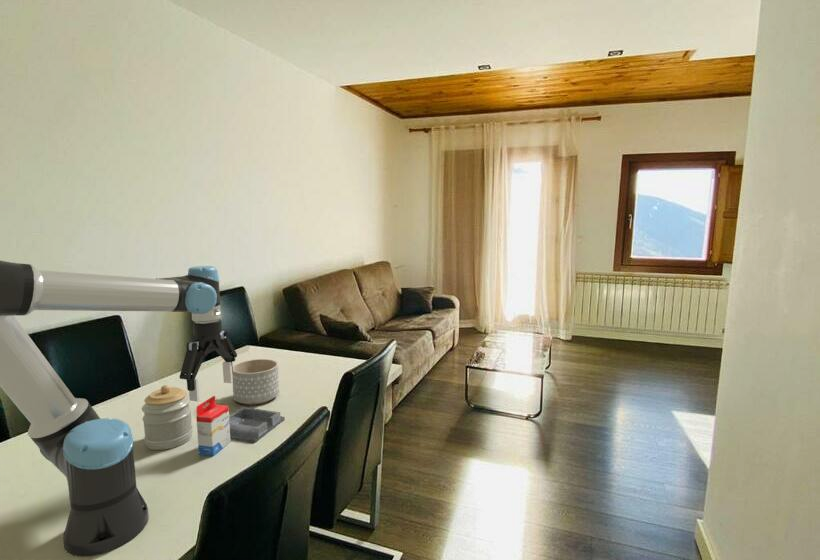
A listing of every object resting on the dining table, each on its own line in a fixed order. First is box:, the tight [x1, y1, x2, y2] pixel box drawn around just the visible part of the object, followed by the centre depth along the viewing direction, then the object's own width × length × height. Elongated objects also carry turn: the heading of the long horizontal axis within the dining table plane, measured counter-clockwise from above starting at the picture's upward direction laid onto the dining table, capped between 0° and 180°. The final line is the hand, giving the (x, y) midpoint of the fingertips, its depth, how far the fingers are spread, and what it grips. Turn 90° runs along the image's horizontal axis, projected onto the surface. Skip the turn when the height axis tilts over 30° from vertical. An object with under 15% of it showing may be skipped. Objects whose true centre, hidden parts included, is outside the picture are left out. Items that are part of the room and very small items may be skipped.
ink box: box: [195, 395, 231, 457], centre depth 126 cm, size 8×5×15 cm, turn 168°
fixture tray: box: [229, 406, 286, 444], centre depth 140 cm, size 16×15×4 cm
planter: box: [232, 358, 280, 406], centre depth 163 cm, size 16×16×13 cm
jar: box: [141, 384, 194, 451], centre depth 131 cm, size 13×13×18 cm
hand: (212, 391), depth 125 cm, fingers open, 13 cm apart
